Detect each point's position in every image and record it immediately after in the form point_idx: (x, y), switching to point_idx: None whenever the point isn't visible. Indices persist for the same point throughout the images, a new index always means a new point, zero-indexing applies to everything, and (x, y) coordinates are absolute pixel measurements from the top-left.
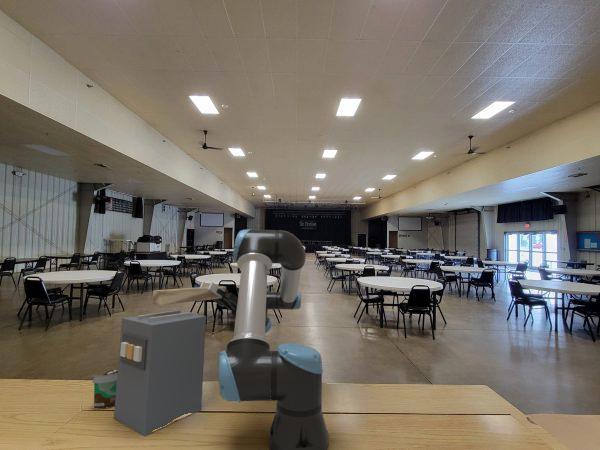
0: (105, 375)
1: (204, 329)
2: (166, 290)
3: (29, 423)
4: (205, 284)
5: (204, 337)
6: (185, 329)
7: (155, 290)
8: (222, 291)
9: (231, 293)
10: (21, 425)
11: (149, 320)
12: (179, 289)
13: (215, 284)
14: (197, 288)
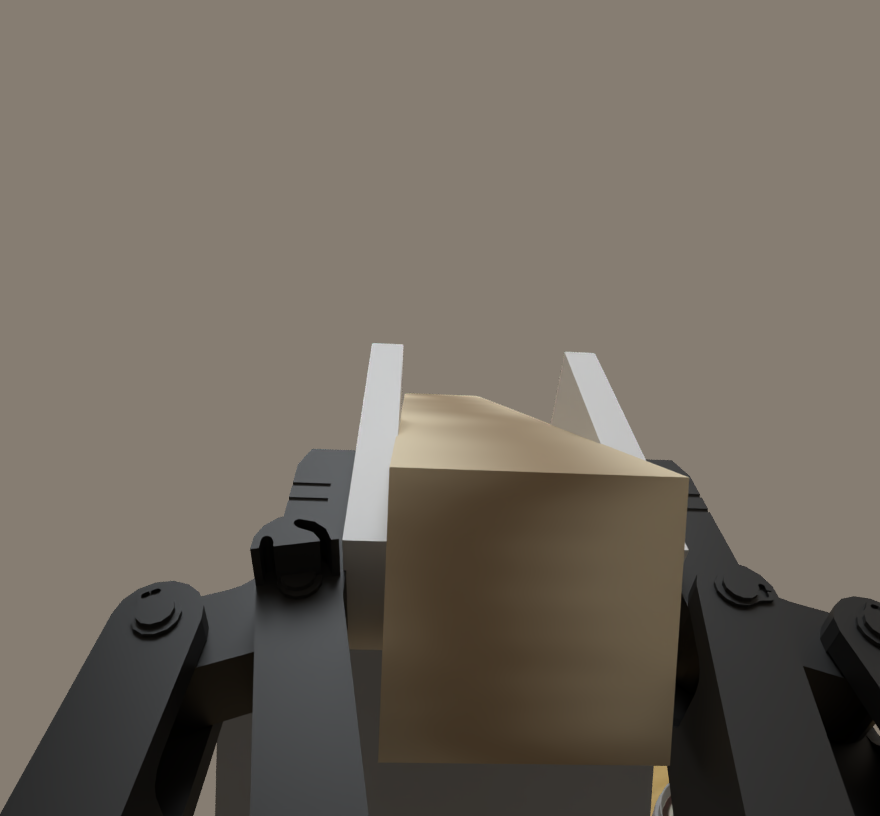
0: (661, 794)
1: (221, 731)
2: (434, 396)
3: (667, 784)
4: (572, 394)
5: (217, 798)
6: None
7: (473, 396)
8: (290, 510)
9: (129, 606)
10: (664, 773)
11: None
12: (442, 401)
13: (367, 376)
14: (424, 409)
